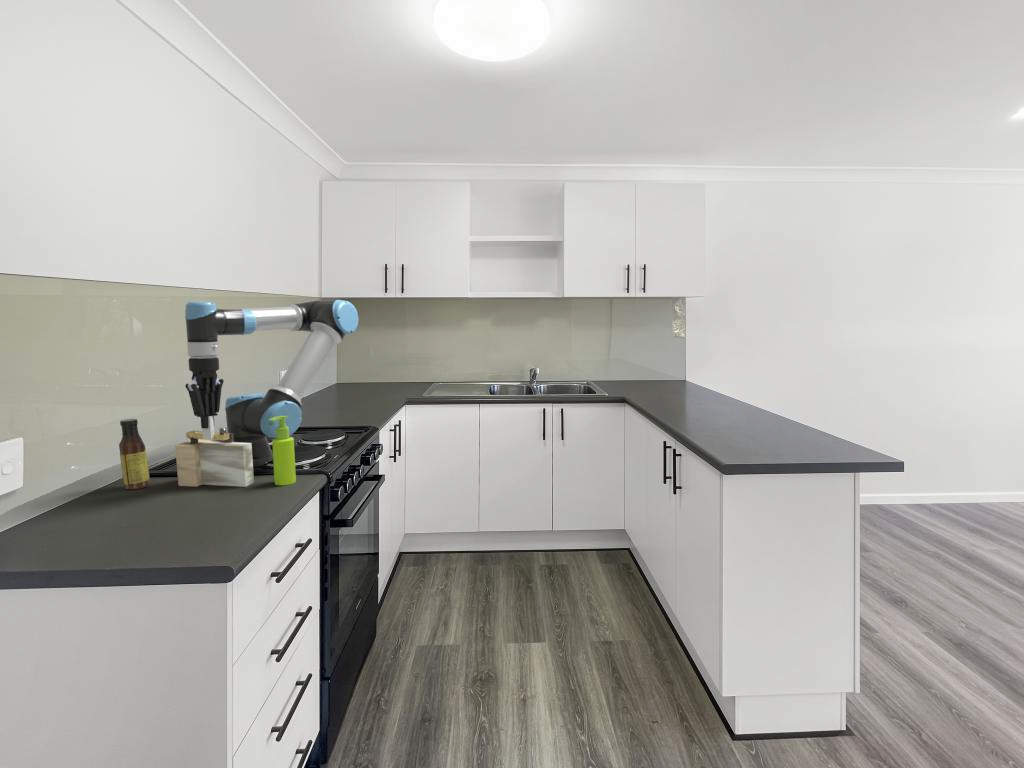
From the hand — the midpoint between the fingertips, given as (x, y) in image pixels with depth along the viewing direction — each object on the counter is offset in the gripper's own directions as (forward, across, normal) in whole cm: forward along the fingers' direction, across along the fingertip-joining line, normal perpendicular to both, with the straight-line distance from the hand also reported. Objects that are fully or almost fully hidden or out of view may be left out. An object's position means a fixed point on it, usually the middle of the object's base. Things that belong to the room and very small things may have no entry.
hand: (208, 438), depth 161 cm
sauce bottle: (+14, -4, +21) cm, 26 cm away
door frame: (+14, +3, 0) cm, 14 cm away
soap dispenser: (+14, +6, -19) cm, 25 cm away
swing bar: (0, +2, +2) cm, 3 cm away
